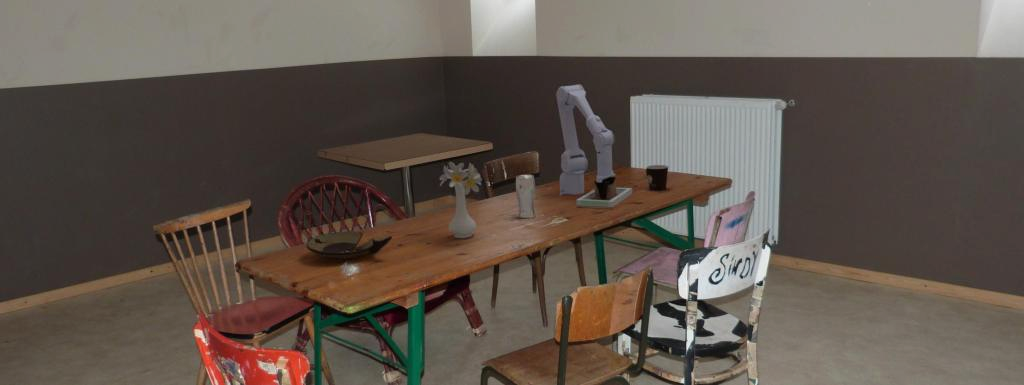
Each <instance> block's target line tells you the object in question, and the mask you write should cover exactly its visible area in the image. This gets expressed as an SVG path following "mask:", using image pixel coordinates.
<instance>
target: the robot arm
mask: <svg viewBox="0 0 1024 385" xmlns="http://www.w3.org/2000/svg"><path fill="white" fill-rule="evenodd" d="M586 93H587V91H586V90H585V88H584V87H583V86H582V84H579V83H578V84H572V85H564V86H563V85H562V86H559V87H558V89H557V91H556V92H555V96H556V101H557V107H558V112H559V113H558V114H559V120H560V124H561V130H562V136H563V142H564V149H565V150H564V152H563V153H562V154H561V156H560V159H561V160H560V161H561V163H560V167H561V170H562V172H561V174H560V176H559V196H563V194H564V195H582V194H584V193H585V176H584V173H586V170H587V169H588V165H589V164H588V162H589V161H588V159H587V158H586V153H585V152H584V150H583V149H581V148H580V146H579V140H578V135H577V129H576V122H575V118H574V112H573V111H574V110H573V109H574V108H575V107H576V108H578V110H579V112H581V114H582V115H583V117H584V118H585V120H586V121H585V125H586V127H587V128H588V130H589V132H590V133H591V135H592V137H593V139H592V143H593V145H594V146H595V148H594V149H595V151H596V161H597V162H596V164H597V167H596V168H597V172H596V177H595V180H594V184H595V185H596V186H597V188H598V191H599V195H600V198H601V199H606V197H607V188H608V185H609V184H615V181H616V180H617V177H616V173H614V170H613V148H612V146H613V145H614V144H615V142H616V141H615V140H616V139H615V138H616V137H615V135H614V133H613V131H612V130H609V129H608V128H606V126H605V124H604V123H603V121H602V120H601V118H600V116H598V115H595V114H594V112H593V110H592V108H591V106H590V104H589V102H588V100H587V98H586V97H587V96H586V95H587V94H586ZM595 185H594V186H595Z"/></svg>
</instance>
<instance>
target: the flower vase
mask: <svg viewBox="0 0 1024 385" xmlns="http://www.w3.org/2000/svg"><path fill="white" fill-rule="evenodd" d="M464 167H465V163H464V162H460V163H459V164H457V165H456V164H455V163H454V162H452V161H448V165H447V166H446V165H443V174H441V175H440V176H439V180H440V181H441V182H440V184H439V187H441V186H442V185H443V184H444V183H445V182H446V181H447V180H448V179H450V182H449V183H448V185H449V186H448V187H450V188H453V187H454V189H455V190H454V191H455V201H456V202H455V203H456V206H455V208H456V209H455V214H454V216H453V218H452V219H451V220H450V222H449V224H448V230H449V231H450V233H451V234H453V237H454V238H455V239H468V238H471V237H472V236H473V233H474V232H475V230H476V229H477V223H476V221H475V219H473V218H472V217H471V216H470V214H469V213H468V210H467V204H466V195H468V194H469V193H471V190H472V191H473V192H475V193H479V192H480V189H479V186H478V185H480V186H481V185H482V183H481V182H482V180H483V178H482V177H481V174H480V173H479V172H478V169H477V168H475V166H474V164H472V163H471V162H469V164H468V168H465V169H463V168H464ZM477 184H478V185H477Z"/></svg>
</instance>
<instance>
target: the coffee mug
mask: <svg viewBox="0 0 1024 385" xmlns="http://www.w3.org/2000/svg"><path fill="white" fill-rule="evenodd" d="M668 172H669V165H664V164H653V165H652V164H651V165H647V166H646V169H645V174H646V177H647V181H648V189H649V191H652V192H653V191H654V192H661V191H666V189H667V181H668Z"/></svg>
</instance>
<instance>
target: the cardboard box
mask: <svg viewBox="0 0 1024 385" xmlns="http://www.w3.org/2000/svg"><path fill="white" fill-rule="evenodd" d="M616 188H617V183H613V184H609V185H608V188H607V197H606V199H601V198H600V195H599V191H598V188H597V186H596V185H594V189H595V197H594V200H607V201H610V200H611V199H613V198H614V197H616V196H617V194H616Z"/></svg>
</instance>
